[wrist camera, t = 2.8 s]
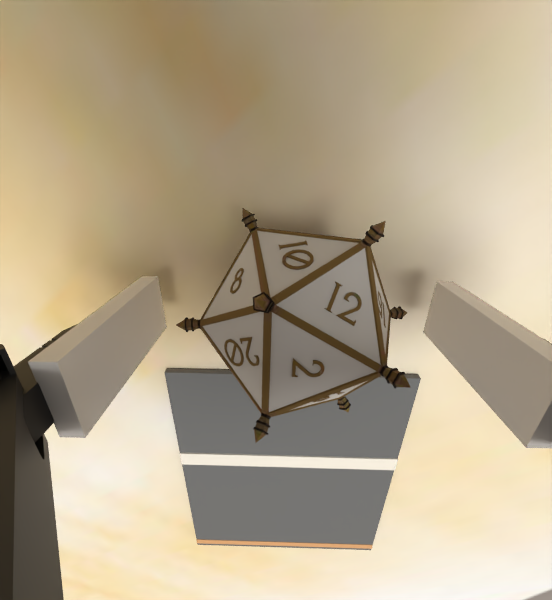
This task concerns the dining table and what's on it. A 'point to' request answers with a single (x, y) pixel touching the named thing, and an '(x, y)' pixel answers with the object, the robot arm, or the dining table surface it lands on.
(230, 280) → the game die
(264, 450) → the lane mat
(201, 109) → the dining table surface
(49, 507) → the robot arm
